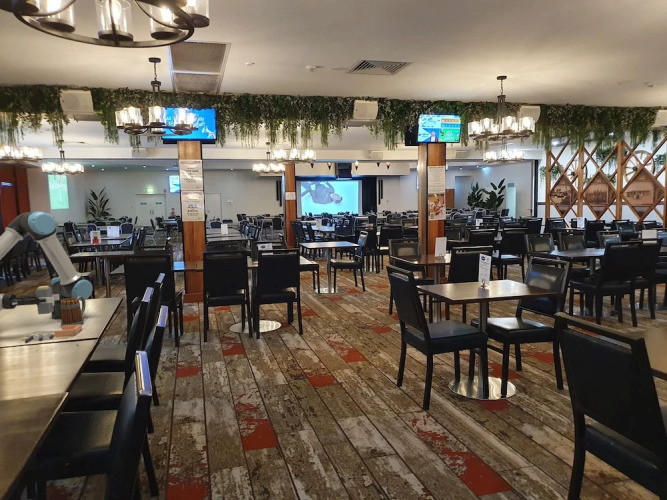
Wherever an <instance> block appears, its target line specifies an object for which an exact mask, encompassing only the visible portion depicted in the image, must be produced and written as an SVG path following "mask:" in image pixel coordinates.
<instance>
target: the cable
mask: <svg viewBox="0 0 667 500" xmlns="http://www.w3.org/2000/svg"><path fill="white" fill-rule="evenodd" d="M53 337H54V335H51V336H50V337H49V338H50V339H52V338H53ZM33 338H34V337H33V336H31V337H30V338H28V339H26V340H25V342H24V343H26V344H28V342H29V341H30V340H32V339H33ZM41 340H43V337H41V338H39V341H38V342H42V341H41Z"/></svg>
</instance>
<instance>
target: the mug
mask: <svg viewBox="0 0 667 500" xmlns="http://www.w3.org/2000/svg"><path fill="white" fill-rule="evenodd" d="M79 299H81V302H80V301H79ZM86 303H87V302H86V299H84V297H77V298H70V299H69V298H67V299H63V300H61V319H60V321H61V322H60V327H61V328H62V326H66V325H79V324H82V325H84V323H85V318H83V315H84V314H85V310H86V308H87V307H86V306H87V305H86Z"/></svg>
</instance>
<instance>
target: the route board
mask: <svg viewBox="0 0 667 500" xmlns="http://www.w3.org/2000/svg"><path fill="white" fill-rule="evenodd" d="M84 329H85V327H82V331H83V330H84ZM58 330H59V329H55V330H40V331H33V332H32V333H30V334H28V335H27V336H25V337H24V338H22V339H20V340H18V342H17V343H26V342H25V340H26V339H28V338H30V337H31V336H33V337H34V336H35V335H37V334H38V333H43V335H44V334H45V333H48V332H51V335H54V337H53V338H52V339H50V338H48V340H47V341H55V340H67V339H73V338H74V337H75V336H66V337H55V332H54V331H58ZM82 331H80V332H79V333H81V332H82ZM42 341H43V342H44V341H45V340H41V341H40V342H42ZM29 342H31V343H32V342H36V341H35V337H34V338H33V339H32V340H30V341H29Z"/></svg>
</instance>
